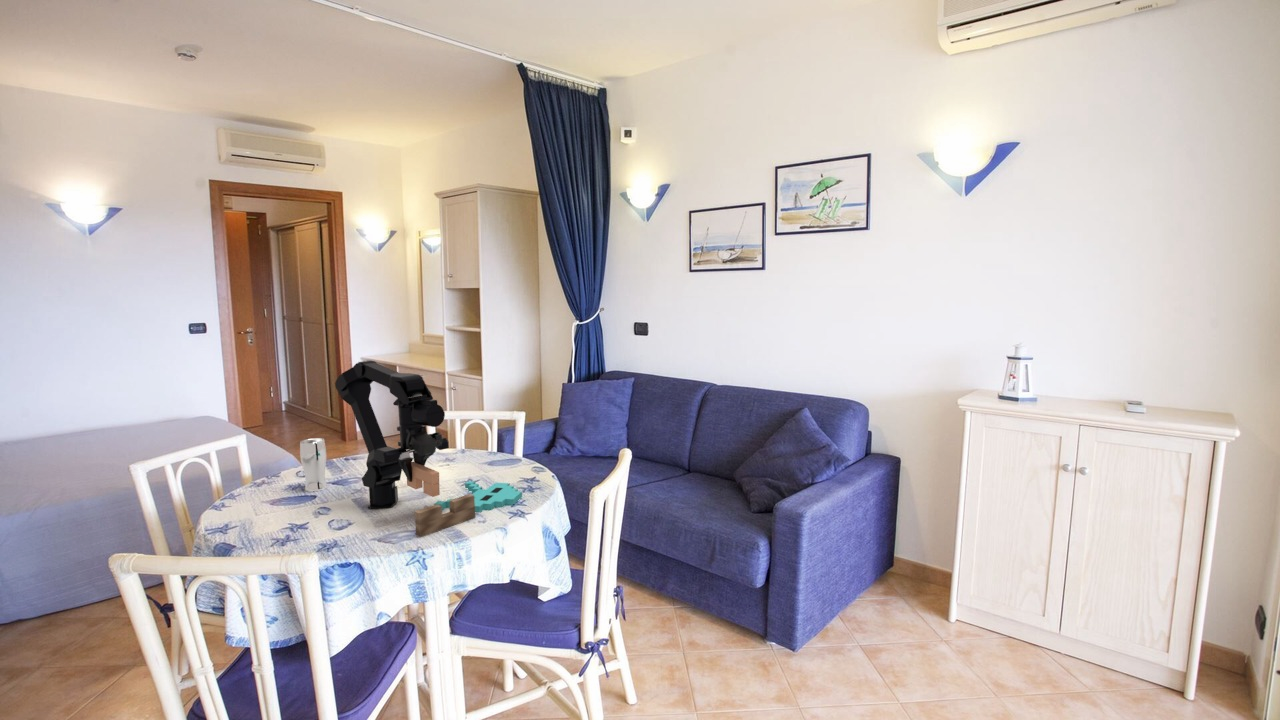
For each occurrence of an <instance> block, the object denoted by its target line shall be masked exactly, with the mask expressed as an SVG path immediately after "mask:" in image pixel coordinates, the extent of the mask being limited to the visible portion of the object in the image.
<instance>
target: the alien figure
mask: <svg viewBox="0 0 1280 720" xmlns="http://www.w3.org/2000/svg"><path fill="white" fill-rule="evenodd" d="M465 488H468V489H467V490H468V492H469V491H472V492H471V495H474V500H475V512H480V513H482V510H483V511H492V510H493V509H495V508H496V507H503V506H504V505H505V506H514V505H515V504H517V503H518V502H519V501H520V500H521V499H522V498H523V491H521V490H520V491H519V489H518V488H515V487H514V485H511V484H510V483H509V482H495V483H493V484H492V485H490V486H489V487H488V488H486V489H484V488H483V486H480V484H478V483H476V481H473V480H469V481H468V480H467V482H465V483H464V489H465ZM521 497H522V498H521ZM520 498H521V499H520ZM452 499H453V498H449V499H447V500H446V501H445V500H444V501H443V500H438V501H436V502H434V503H433V505H440V506H442V511H444V510H445V509H446V508H447V509H450V504H449V500H452ZM519 499H520V500H519ZM518 500H519V501H518ZM517 501H518V502H517ZM516 502H517V503H516ZM513 504H514V505H513ZM505 506H504V507H505ZM494 507H495V508H494ZM504 507H503V508H504Z"/></svg>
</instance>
